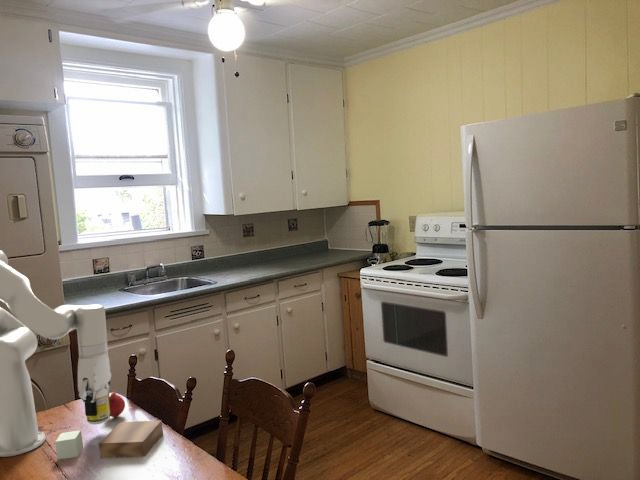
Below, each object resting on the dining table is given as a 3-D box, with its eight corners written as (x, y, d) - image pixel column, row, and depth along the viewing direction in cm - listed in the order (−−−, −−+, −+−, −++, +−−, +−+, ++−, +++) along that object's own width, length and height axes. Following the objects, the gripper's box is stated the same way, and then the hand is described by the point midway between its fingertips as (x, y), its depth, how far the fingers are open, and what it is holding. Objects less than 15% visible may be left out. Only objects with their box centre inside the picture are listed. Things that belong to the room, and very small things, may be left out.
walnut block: (100, 457, 134) (98, 443, 133) (122, 435, 146) (120, 422, 145) (144, 456, 133) (142, 441, 132) (163, 434, 144) (161, 420, 144)
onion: (119, 422, 155) (115, 396, 154) (102, 421, 156) (98, 396, 155) (129, 413, 161) (126, 388, 160) (113, 413, 162) (110, 388, 161)
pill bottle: (94, 415, 151) (92, 378, 150) (114, 416, 150) (112, 379, 149) (82, 424, 145) (79, 386, 144) (102, 425, 144) (100, 387, 143)
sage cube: (57, 459, 135) (55, 441, 135) (63, 450, 140) (61, 432, 139) (77, 456, 136) (75, 438, 135) (83, 447, 141) (80, 430, 140)
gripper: (96, 340, 155) (101, 398, 156) (62, 358, 138) (68, 423, 139) (120, 339, 154) (124, 398, 156) (89, 358, 137) (94, 424, 138)
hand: (98, 409), depth 147 cm, fingers closed on pill bottle, 6 cm apart
